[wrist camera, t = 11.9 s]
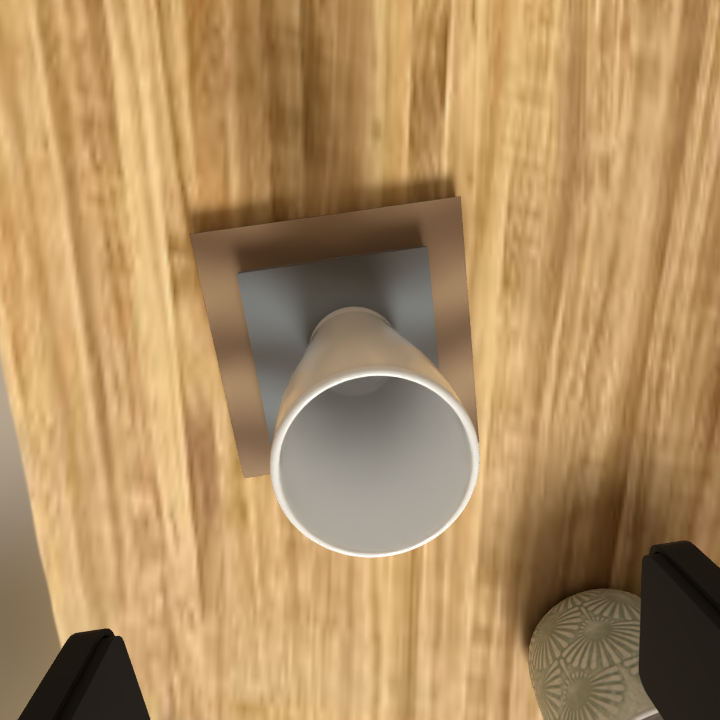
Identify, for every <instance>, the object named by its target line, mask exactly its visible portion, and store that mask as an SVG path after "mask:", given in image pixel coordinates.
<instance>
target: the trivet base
mask: <svg viewBox="0 0 720 720" xmlns="http://www.w3.org/2000/svg"><path fill="white" fill-rule="evenodd" d="M190 238H191V242H192V247H193V251H194V256H195V260H196V265H197V269H198V274H199V278H200V283H201V287H202V292H203V296H204V301H205V305H206V310H207V314H208V319H209V323H210V328H211V332H212V337H213V341H214V346H215V350H216V355H217V359H218V364H219V368H220V373H221V377H222V382H223V386H224V391H225V395H226V400H227V404H228V409H229V413H230V418H231V422H232V427H233V431H234V436H235V440H236V445H237V449H238V454H239V458H240V463H241V467H242V472H243V476H244V478H249V477H255V476H262V475H269V474H270V455H271V448H272V441H273V433H274V428H275V423H276V418H277V413H278V409H279V406H280V403H281V399H282V396H283V393H284V391H285V388H286V386H287V384H288V382H289V379H290V377H291V375H292V373H293V372H294V370H295V368H296V366H297V365H298V363H299V361H300V359H301V357H302V356H303V354H304V352H305V350H306V348H307V347H308V345H309V341H310V338H311V335H312V333H313V331H314V329H315V327H316V326H317V325H318V323H319V322H320V321H321V320H322V319H323V318H324V317H326V316H327V315H328V314H330V313H331V312H333V311H335V310H338V309H341V308H345V307H353V306H354V307H364V308H368V309H371V310H373V311H375V312H377V313H379V314H380V315H382V316H383V317H384V318H385V319H387V321H388V322H389V323H390V324H391V325H392V327H393V328H394V329H395V330H396V331H398V332H399V333H400V334H401V335H402V336H404V337H405V338H406V339H407V340H409V341H410V342H411V343H412V344H414V345H415V346H416V347H417V348H418V349H419V350H421V351H422V352H423V353H424V354H425V355H426V356H427V357H428V358H429V359H430V360H431V361H432V362H433V363H434V364H435V365H436V366H437V368H438V369H439V370H440V371H441V372H442V374H443V375H444V376H445V378H446V379H447V380H448V382H449V383H450V385H451V386H452V388H453V389H454V391H455V393H456V394H457V396H458V398H459V399H460V401H461V403H462V405H463V406H464V408H465V410H466V412H467V413H468V415H469V417H470V419H471V421H472V423H473V425H474V428H475V431H476V434H477V439H478V443H479V436H478V423H477V409H476V396H475V383H474V369H473V356H472V343H471V329H470V316H469V303H468V289H467V276H466V262H465V249H464V236H463V222H462V209H461V196H459V197H452V198H445V199H438V200H431V201H424V202H417V203H409V204H402V205H395V206H388V207H381V208H374V209H366V210H359V211H352V212H345V213H338V214H331V215H324V216H316V217H309V218H302V219H295V220H288V221H281V222H273V223H266V224H259V225H252V226H245V227H238V228H231V229H223V230H216V231H209V232H202V233H195V234H190Z"/></svg>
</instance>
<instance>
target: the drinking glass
mask: <svg viewBox="0 0 720 720" xmlns="http://www.w3.org/2000/svg"><path fill="white" fill-rule="evenodd" d="M479 464H480V452H479V443H478V439H477V434H476V431H475V428H474V425H473V423H472V421H471V419H470V417H469V415H468V413H467V412H466V410H465V408H464V406H463V405H462V403H461V401H460V399H459V398H458V396H457V394H456V393H455V391H454V389H453V388H452V386H451V385H450V383H449V382H448V380H447V379H446V378H445V376H444V375H443V374H442V372H441V371H440V370H439V369H438V368H437V366H436V365H435V364H434V363H433V362H432V361H431V360H430V359H429V358H428V357H427V356H426V355H425V354H424V353H423V352H422V351H421V350H419V349H418V348H417V347H416V346H415V345H414V344H412V343H411V342H410V341H409V340H407V339H406V338H405V337H404V336H402V335H401V334H400V333H399V332H398V331H396V330H395V329H394V328H393V327H392V325H391V324H390V323H389V322H388V321H387V319H385V318H384V317H383V316H382V315H380V314H379V313H377V312H375V311H373V310H371V309H368V308H364V307H354V306H353V307H345V308H341V309H338V310H335V311H333V312H331V313H330V314H328V315H327V316H326V317H324V318H323V319H322V320H321V321H320V322H319V323H318V325H317V326H316V327H315V329H314V331H313V333H312V335H311V338H310V341H309V345H308V347H307V348H306V350H305V352H304V354H303V356H302V357H301V359H300V361H299V363H298V365H297V366H296V368H295V370H294V372H293V373H292V375H291V377H290V379H289V382H288V384H287V386H286V388H285V391H284V393H283V396H282V399H281V403H280V406H279V409H278V413H277V418H276V423H275V428H274V433H273V441H272V448H271V455H270V474H271V481H272V486H273V490H274V493H275V495H276V498H277V500H278V502H279V505H280V507H281V508H282V510H283V512H284V513H285V515H286V516H287V517H288V519H289V520H290V521H291V523H292V524H293V525H294V526H295V527H296V528H297V529H298V530H299V531H300V532H302V533H303V534H304V535H305V536H306V537H308V538H309V539H311V540H312V541H314V542H315V543H317V544H319V545H321V546H323V547H325V548H327V549H329V550H332V551H335V552H338V553H342V554H346V555H350V556H356V557H385V556H391V555H397V554H400V553H404V552H407V551H410V550H413V549H415V548H418V547H420V546H422V545H424V544H426V543H428V542H429V541H431V540H433V539H434V538H436V537H437V536H438V535H440V534H441V533H442V532H444V531H445V530H446V529H447V528H448V527H449V526H450V525H451V524H452V523H453V522H454V521H455V520H456V519H457V518H458V516H459V515H460V514H461V512H462V511H463V510H464V508H465V507H466V505H467V503H468V501H469V500H470V497H471V495H472V493H473V491H474V488H475V485H476V482H477V477H478V473H479Z"/></svg>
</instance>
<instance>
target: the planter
mask: <svg viewBox="0 0 720 720" xmlns="http://www.w3.org/2000/svg"><path fill="white" fill-rule="evenodd" d="M640 610H641V597H639V596H637V595H635V594H632V593H629V592H626V591H622V590H616V589H593V590H588V591H584V592H580V593H577V594H575V595H572V596H570V597H568V598H566V599H564V600H562V601H561V602H559V603H558V604H557V605H555V606H554V607H553V608H552V609H550V610H549V611H548V612H547V613H546V614H545V615H544V617H543V618H542V619H541V620H540V622H539V623H538V625H537V626H536V628H535V630H534V632H533V635H532V638H531V641H530V645H529V652H528V664H529V672H530V677H531V681H532V685H533V688H534V692H535V695H536V699H537V702H538V705H539V708H540V710H541V713H542V716H543V719H544V720H663V718H662V717H661V715H660V714H659V712H658V711H657V709H656V707H655V706H654V704H653V703H652V701H651V700H650V698H649V697H648V695H647V694H646V692H645V690H644V688H643V685H642V683H641V680H640V676H639V639H640Z"/></svg>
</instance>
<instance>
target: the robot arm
mask: <svg viewBox="0 0 720 720" xmlns="http://www.w3.org/2000/svg"><path fill="white" fill-rule="evenodd" d="M639 676H640V680H641V683H642V685H643V688H644V690H645V692H646V694H647V695H648V697H649V698H650V700H651V701H652V703H653V704H654V706H655V707H656V709H657V711H658V712H659V714H660V715H661V717H662V718H663V720H720V568H719V567H718V566H717V565H716V564H715V563H713V562H712V561H711V560H710V559H709V558H708V557H707V556H706V555H705V554H704V553H702V552H701V551H700V550H699V549H698V548H697V547H696V546H695V545H693V544H692V543H691V542H688V541H678V542H672V543H665V544H659V545H654V546H652V547H651V549H650V553H649V555H646V556H644V557H643V560H642V580H641V610H640V639H639ZM18 720H150V717H149V714H148V711H147V708H146V705H145V702H144V699H143V696H142V693H141V690H140V687H139V685H138V682H137V679H136V676H135V673H134V670H133V667H132V664H131V661H130V658H129V655H128V652H127V649H126V646H125V643H124V641H123V639H122V637H120V636H114V634H113V632H112V631H111V630H110V629H99V630H93V631H86V632H80V633H75V634H73V635H71V636H70V637H69V639H68V640H67V641H66V643H65V644H64V646H63V648H62V649H61V651H60V653H59V654H58V656H57V657H56V659H55V661H54V662H53V664H52V665H51V667H50V669H49V670H48V672H47V673H46V675H45V677H44V678H43V680H42V681H41V683H40V685H39V686H38V688H37V690H36V691H35V693H34V694H33V696H32V698H31V699H30V701H29V702H28V704H27V706H26V707H25V709H24V711H23V712H22V714H21V715H20V717H19V719H18Z"/></svg>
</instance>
